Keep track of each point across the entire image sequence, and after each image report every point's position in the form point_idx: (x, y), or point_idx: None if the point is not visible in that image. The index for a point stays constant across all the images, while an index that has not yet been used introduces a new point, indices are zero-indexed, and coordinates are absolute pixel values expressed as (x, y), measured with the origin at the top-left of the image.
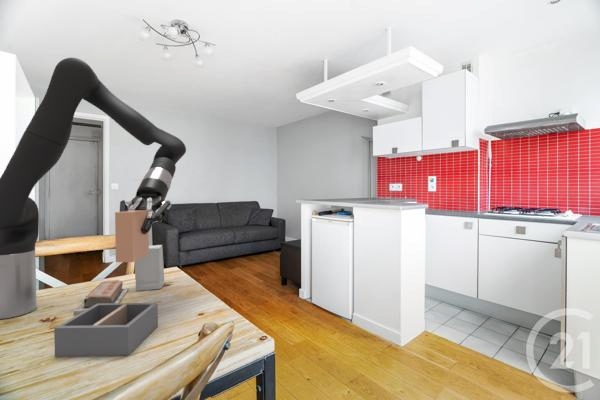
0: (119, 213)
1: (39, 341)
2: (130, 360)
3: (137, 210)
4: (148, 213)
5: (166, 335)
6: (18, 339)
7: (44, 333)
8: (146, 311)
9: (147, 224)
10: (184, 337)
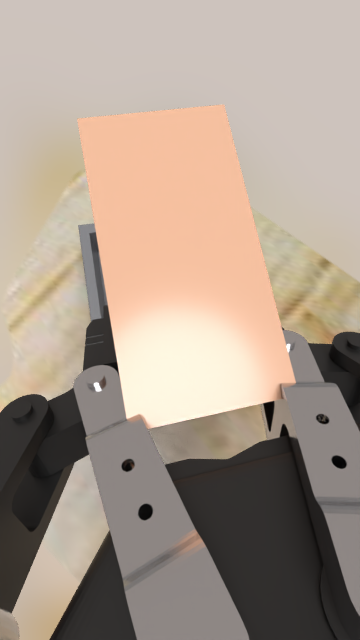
0: (187, 115)
1: (278, 270)
2: (77, 237)
3: (222, 366)
4: (114, 402)
5: (62, 318)
6: (320, 271)
7: (300, 295)
8: (89, 295)
9: (96, 343)
10: (21, 315)
